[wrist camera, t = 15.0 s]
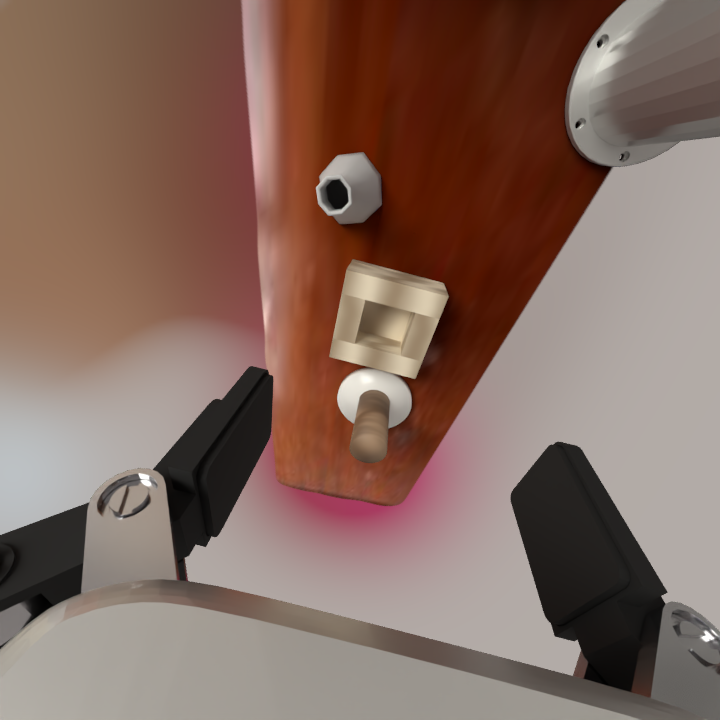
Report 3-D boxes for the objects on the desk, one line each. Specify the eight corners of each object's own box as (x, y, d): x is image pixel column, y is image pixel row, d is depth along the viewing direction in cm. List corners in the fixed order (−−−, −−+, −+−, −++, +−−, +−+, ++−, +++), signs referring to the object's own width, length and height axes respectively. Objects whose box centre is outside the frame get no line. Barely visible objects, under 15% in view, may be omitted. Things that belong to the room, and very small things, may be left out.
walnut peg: (379, 385, 47) (374, 431, 38) (395, 407, 49) (393, 456, 40) (353, 396, 49) (342, 443, 40) (369, 417, 51) (362, 466, 42)
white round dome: (388, 355, 45) (388, 359, 44) (424, 410, 50) (424, 415, 49) (324, 384, 50) (323, 389, 49) (363, 433, 54) (362, 438, 53)
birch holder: (443, 283, 39) (448, 296, 34) (414, 359, 45) (415, 379, 41) (352, 259, 38) (346, 269, 34) (336, 339, 45) (329, 356, 41)
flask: (368, 138, 32) (355, 126, 23) (392, 209, 35) (388, 220, 27) (309, 171, 34) (278, 170, 26) (336, 234, 37) (317, 252, 29)
